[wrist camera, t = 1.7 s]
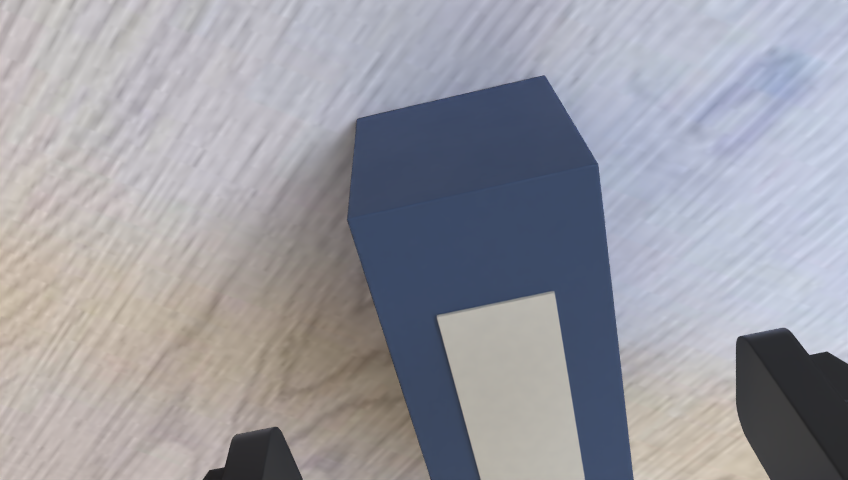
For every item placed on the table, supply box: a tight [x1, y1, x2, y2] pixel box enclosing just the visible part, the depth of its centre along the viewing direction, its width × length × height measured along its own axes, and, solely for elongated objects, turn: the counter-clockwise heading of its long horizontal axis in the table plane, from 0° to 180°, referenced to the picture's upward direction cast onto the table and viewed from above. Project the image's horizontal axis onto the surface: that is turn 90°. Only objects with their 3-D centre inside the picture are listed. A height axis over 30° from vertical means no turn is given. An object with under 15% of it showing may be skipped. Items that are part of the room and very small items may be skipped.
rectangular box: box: [347, 76, 634, 480], centre depth 22 cm, size 14×6×6 cm, turn 13°
